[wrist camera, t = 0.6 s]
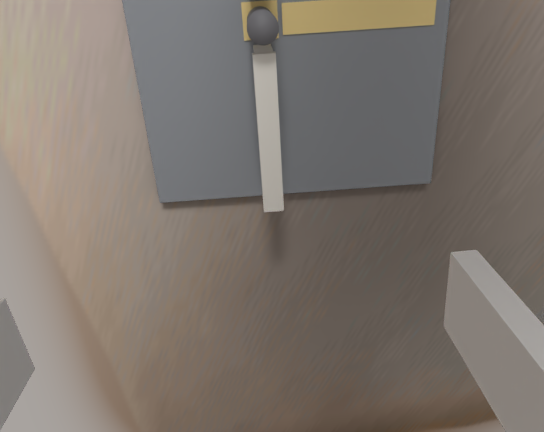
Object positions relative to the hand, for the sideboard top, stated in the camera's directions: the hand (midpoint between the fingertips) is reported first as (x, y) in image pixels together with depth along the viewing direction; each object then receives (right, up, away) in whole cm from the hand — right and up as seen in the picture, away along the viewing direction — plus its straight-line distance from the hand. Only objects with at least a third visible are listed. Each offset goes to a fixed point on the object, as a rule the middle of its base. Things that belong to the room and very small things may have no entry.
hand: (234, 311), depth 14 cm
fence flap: (+1, +10, +20) cm, 23 cm away
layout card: (+2, +16, +19) cm, 25 cm away
